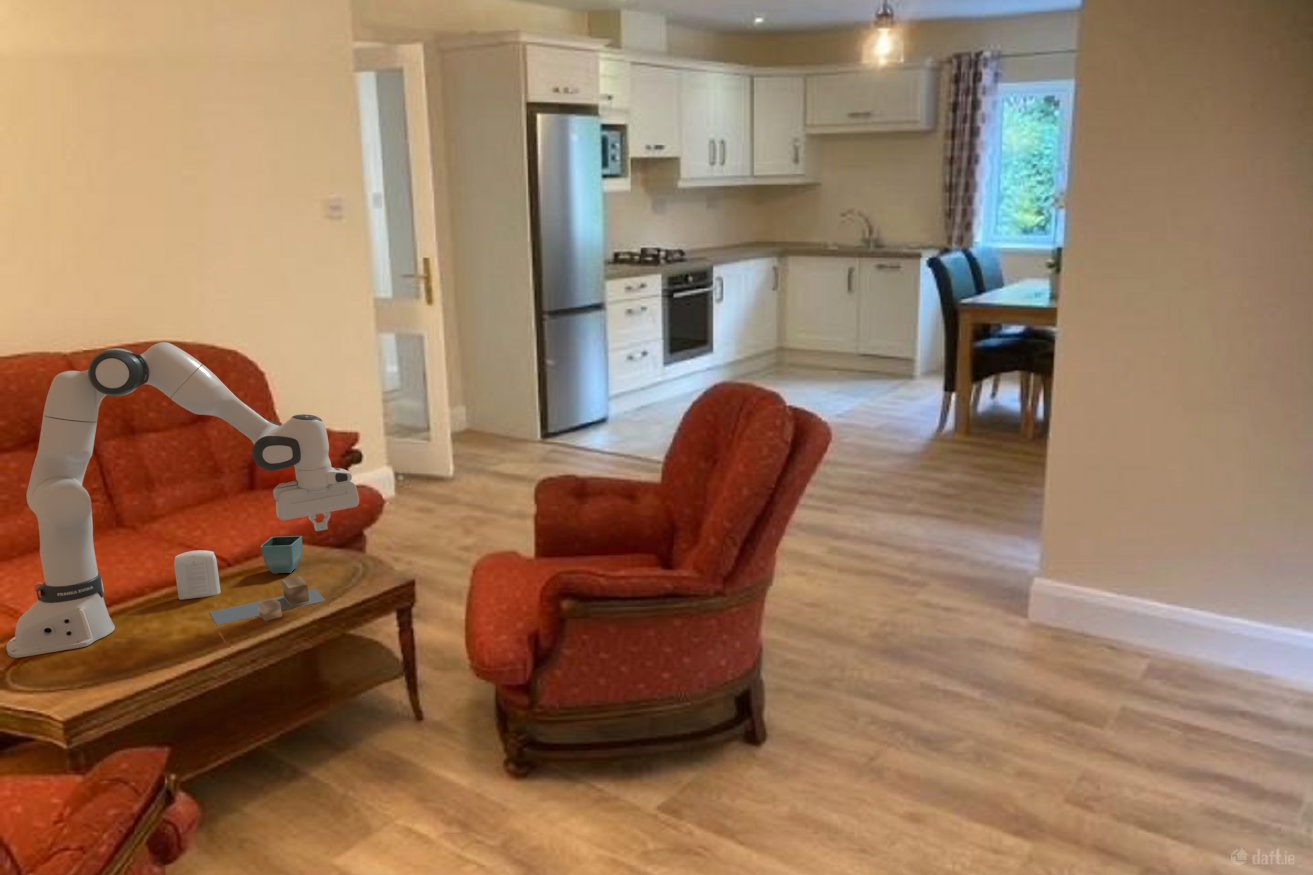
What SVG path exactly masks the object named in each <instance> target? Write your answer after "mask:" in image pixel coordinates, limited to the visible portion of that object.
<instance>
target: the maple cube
mask: <svg viewBox="0 0 1313 875" xmlns="http://www.w3.org/2000/svg"><path fill="white" fill-rule="evenodd" d="M269 599H270V600H267V601H263V602H259V603H258V609H259V616H258V617H259V618H261V619H262V620H264V621H265V622H267V621H271V620H273V619H277V618H281V617H282V616H283V613H282V611H281V605H280V602H279V601H277V600H275V599H271V598H269Z"/></svg>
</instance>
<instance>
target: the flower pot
mask: <svg viewBox="0 0 1313 875" xmlns="http://www.w3.org/2000/svg"><path fill="white" fill-rule="evenodd" d="M259 548H260V550H261V554H262V557H263V558H262V559H263V561H264V564H265V566H266V567H267V569H268V570H269V572H271V573H272V574H273V573H290V574H291V572H292V571H293V570H294V569H295V570H296V569H297V568H298V566H299V564H300V562H301V559H302V555H303V554H302V553H303V536H302V535H295V536H294V535H291V536H286V535H285V536H271V537H270V538H268V539H267V541H265V542H264V543H262V544H261V545H260V546H259ZM295 570H294V571H295ZM294 571H293V572H294ZM293 572H292V573H293Z"/></svg>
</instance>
